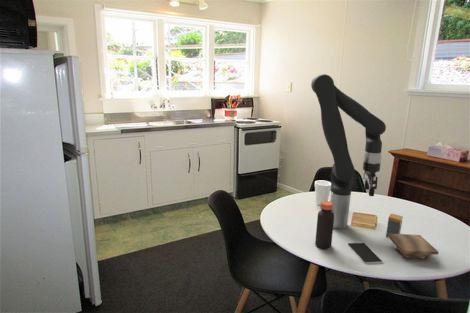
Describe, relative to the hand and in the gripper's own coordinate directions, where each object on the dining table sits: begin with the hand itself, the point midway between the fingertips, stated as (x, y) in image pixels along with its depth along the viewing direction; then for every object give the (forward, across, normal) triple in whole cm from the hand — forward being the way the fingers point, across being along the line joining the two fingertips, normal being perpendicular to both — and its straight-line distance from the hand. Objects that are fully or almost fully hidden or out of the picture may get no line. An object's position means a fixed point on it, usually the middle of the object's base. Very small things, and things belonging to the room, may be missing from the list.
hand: (368, 192), depth 150 cm
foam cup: (+18, -25, -19) cm, 36 cm away
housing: (+18, +10, +10) cm, 23 cm away
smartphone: (+17, +28, -7) cm, 33 cm away
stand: (+17, +23, +12) cm, 32 cm away
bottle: (+16, +24, -24) cm, 38 cm away
